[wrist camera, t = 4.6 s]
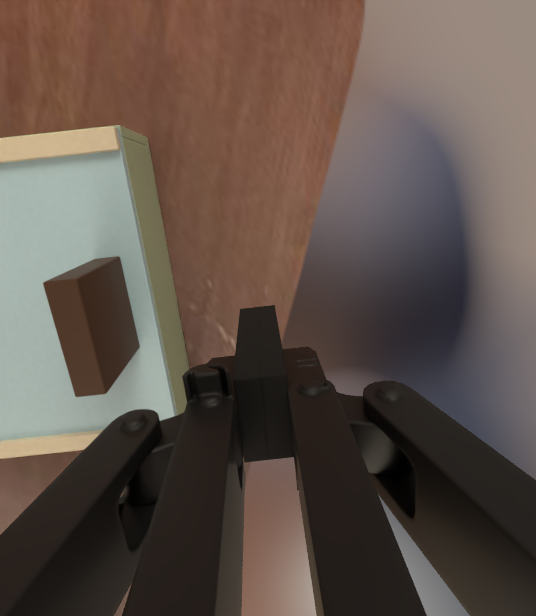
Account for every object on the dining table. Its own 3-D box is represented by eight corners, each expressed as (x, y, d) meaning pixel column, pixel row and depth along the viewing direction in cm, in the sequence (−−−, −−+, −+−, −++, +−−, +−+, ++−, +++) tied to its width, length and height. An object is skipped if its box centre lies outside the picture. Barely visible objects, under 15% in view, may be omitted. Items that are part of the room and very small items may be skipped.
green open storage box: (147, 137, 28) (119, 124, 22) (193, 390, 34) (181, 432, 28) (-79, 162, 28) (-167, 155, 22) (8, 410, 34) (-42, 456, 28)
